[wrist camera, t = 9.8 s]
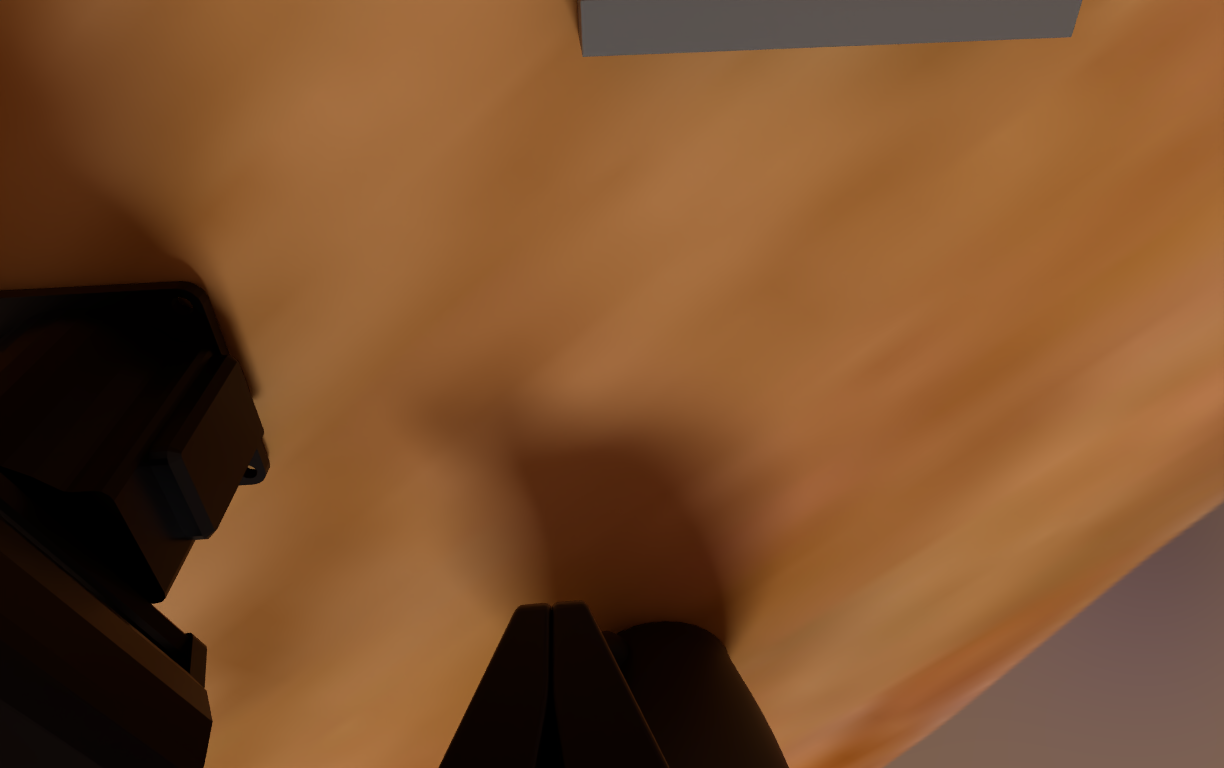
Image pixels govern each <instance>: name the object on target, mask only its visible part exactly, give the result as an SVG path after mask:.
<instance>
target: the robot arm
mask: <svg viewBox="0 0 1224 768" xmlns="http://www.w3.org/2000/svg"><path fill="white" fill-rule="evenodd" d="M178 297H181V298H185V299H187V300H188V301H190V302H191V304H192V305H193V308H191V307H186V306H184V305H182V304H181V303H180V301H179V300H178ZM263 435H264V429H263V427H262V424H261V421H260V418H259V416H258V413H257V410H256V408H255V405H254V402H253V399H252V397H251V394H250V391H249V388H248V386H247V383H246V380H245V377H244V375H243V372H242V369H241V366H240V364H239V362H238V361H237V360H236V359H235V358H234V357H233V356H231V355H230V354H229V351H228V349H227V346H226V343H225V341H224V338H223V335H222V332H221V330H220V327H219V324H218V322H217V319H216V316H215V314H214V311H213V308H212V306H211V303H210V300H209V298H208V296H207V294H206V293H205V291H204V290H203V289H201V288H200V287H199V286H198V285H195V284H193V283H191V282H185V281H176V282H157V283H138V284H119V285H100V286H81V287H62V288H44V289H25V290H6V291H0V768H203V767H204V764H205V758H206V753H207V748H208V743H209V738H210V732H211V727H212V716H211V711H210V706H209V701H208V695H207V691H206V690H205V689H204V688H205V672H206V656H207V647H206V646H205V645H204V644H203V643H202V642H201V641H200V640H199V639H198V638H196V637H195V636H194V635H193V634H192V633H184V632H183V631H181V630H180V629H179V628H178V627H177V626H176V625H175V624H173V623H172V622H171V621H170V620H169V619H168V618H167V617H165V616H164V615H163V614H162V613H161V612H160V611H159V610H157V609H156V608H155V607H154V606H153V605H152V604H155V603H159V602H162V601H163V600H164V599H165V598H166V596H167V594H168V592H169V590H170V588H171V586H172V584H173V583H174V581H175V579H176V577H177V575H178V573H179V571H180V569H181V567H182V565H183V563H184V561H185V559H186V557H187V555H188V553H189V551H190V549H191V548H192V546H193V544H194V542H195V540H200V539H209V538H210V537H211V536H212V534H213V533H214V532H215V531H216V530H217V528H218V526H219V524H220V522H221V520H222V518H223V516H224V514H225V512H226V510H227V508H228V506H229V504H230V502H231V500H232V498H233V496H234V494H235V492H236V490H237V488H238V486H239V485H252V484H257V483H260V482H262V481H263V480H264V479H265V477H266V474H267V472H268V470H269V468H270V462H269V459H268V456H267V454H266V451H265V448H264V446H263V443H262V440H261V439H262V437H263ZM248 465H249V466H252V467H254V468H255V469H250V468H248ZM439 768H669V766H668V764H667V762H666V760H665V758H664V756H663V754H662V752H661V750H660V748H659V746H658V744H657V742H656V740H655V738H654V736H653V734H652V732H651V730H650V728H649V726H648V724H647V722H646V720H645V718H644V716H643V714H642V712H641V710H640V708H639V706H638V704H637V702H636V700H635V698H634V696H633V694H632V692H631V690H630V688H629V686H628V684H627V682H626V680H625V678H624V676H623V674H622V672H621V670H620V668H619V666H618V664H617V662H616V660H615V658H614V656H613V654H612V652H611V650H610V648H609V646H608V644H607V642H606V640H605V638H604V636H603V634H602V632H601V630H600V628H599V626H598V624H597V622H596V620H595V618H594V616H593V614H592V612H591V610H590V608H589V607H588V605H587V604H586V603H585V602H584V601H566V602H557V603H555V604H554V605H553V607H552V608H551V606H550V605H549V604H547V603H539V604H525V605H520V606H519V607H518V608H517V609H516V610H515V612H514V613H513V615H512V617H511V620H510V622H509V624H508V626H507V628H506V630H505V632H504V634H503V636H502V638H501V640H500V642H499V644H498V646H497V648H496V650H495V653H494V655H493V657H492V659H491V661H490V663H489V665H488V667H487V669H486V671H485V673H484V675H483V677H482V679H481V681H480V683H479V685H478V688H477V690H476V692H475V694H474V696H473V698H472V700H471V702H470V704H469V706H468V708H467V710H466V712H465V714H464V716H463V718H462V720H461V723H460V725H459V727H458V729H457V731H456V733H455V735H454V737H453V739H452V741H451V743H450V745H449V747H448V749H447V751H446V753H445V756H444V758H443V760H442V762H441V764H440V766H439Z"/></svg>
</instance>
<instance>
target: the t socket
mask: <svg viewBox="0 0 1224 768" xmlns="http://www.w3.org/2000/svg"><path fill="white" fill-rule="evenodd" d="M1081 3H1082V0H577V4H578V26H579V40H580V45H581V50H582V55H583V57H588V56H613V55H637V54H662V53H687V52H712V51H737V50H762V49H786V48H811V47H836V46H861V45H886V44H911V43H935V42H960V41H985V40H1010V39H1035V38H1060V37H1071V36H1072V33H1073V29H1074V26H1075V23H1076V19H1077V16H1078V13H1079V9H1080V6H1081Z"/></svg>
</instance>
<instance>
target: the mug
mask: <svg viewBox="0 0 1224 768" xmlns="http://www.w3.org/2000/svg"><path fill="white" fill-rule="evenodd" d="M602 634H603V636H604V638H605V640H606V642H607V644H608V646H609V648H610V650H611V652H612V654H613V656H614V658H615V660H616V662H617V664H618V666H619V668H620V670H621V672H622V674H623V676H624V678H625V680H626V682H627V684H628V686H629V688H630V690H631V692H632V694H633V696H634V698H635V700H636V702H637V704H638V706H639V708H640V710H641V712H642V714H643V716H644V718H645V720H646V722H647V724H648V726H649V728H650V730H651V732H652V734H653V736H654V738H655V740H656V742H657V744H658V746H659V748H660V750H661V752H662V754H663V756H664V758H665V760H666V762H667V764H668V766H669V768H789V767H788V764H787V762H786V760H785V758H784V756H783V754H782V751H781V749H780V747H779V745H778V743H777V740H776V738H775V736H774V734H773V732H772V730H771V728H770V727H769V725H768V723H767V721H766V719H765V717H764V715H763V713H762V711H761V709H760V708H759V706H758V704H757V703H756V701H755V699H754V697H753V696H752V694H751V692H750V691H749V689H748V687H747V686H746V684H745V682H744V681H743V679H742V678H741V676H740V674H739V673H738V671H737V669H736V668H735V666H734V664H733V663H732V661H731V659H730V657H729V655H728V653H727V650H726V648H725V647H724V646H723V644H722V643H721V641H720V640H719V639H718V638H717V637H715V636H714V635H713V634H711V633H710V632H708V631H707V630H704V629H702V628H700V627H697V626H694V625H690V624H685V623H679V622H657V623H648V624H644V625H639V626H635V627H632V628H630V629H627V630H625V631H622V632H620V633H618V634H615V633H613V632H610V631H603V632H602Z"/></svg>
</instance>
